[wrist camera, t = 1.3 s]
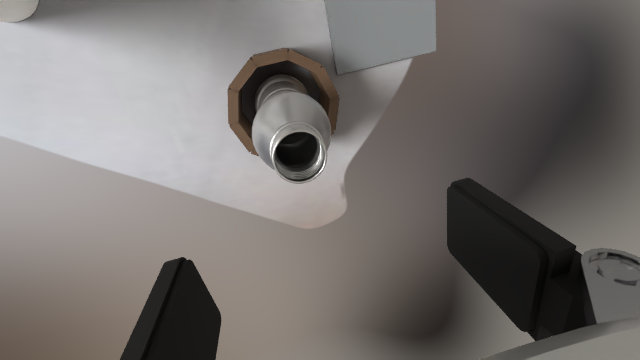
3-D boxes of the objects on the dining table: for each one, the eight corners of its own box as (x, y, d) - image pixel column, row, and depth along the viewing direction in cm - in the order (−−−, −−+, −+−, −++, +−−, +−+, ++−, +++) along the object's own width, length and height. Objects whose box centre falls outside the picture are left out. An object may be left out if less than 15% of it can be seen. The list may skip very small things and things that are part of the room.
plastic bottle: (307, 72, 35) (353, 102, 17) (306, 126, 38) (346, 200, 20) (253, 71, 34) (242, 103, 16) (257, 128, 37) (251, 207, 19)
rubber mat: (315, -55, 30) (316, -57, 29) (432, -80, 31) (434, -81, 30) (336, 74, 36) (337, 75, 35) (434, 50, 37) (436, 51, 36)
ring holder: (216, 63, 33) (208, 67, 27) (318, 39, 34) (329, 38, 28) (248, 154, 38) (246, 172, 33) (335, 132, 39) (347, 146, 33)
